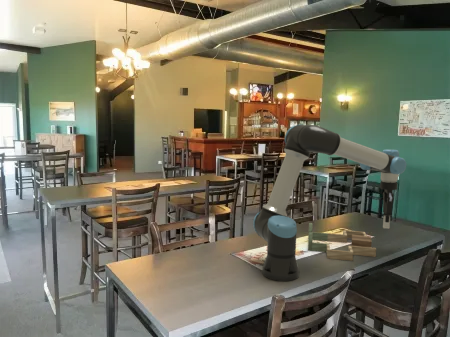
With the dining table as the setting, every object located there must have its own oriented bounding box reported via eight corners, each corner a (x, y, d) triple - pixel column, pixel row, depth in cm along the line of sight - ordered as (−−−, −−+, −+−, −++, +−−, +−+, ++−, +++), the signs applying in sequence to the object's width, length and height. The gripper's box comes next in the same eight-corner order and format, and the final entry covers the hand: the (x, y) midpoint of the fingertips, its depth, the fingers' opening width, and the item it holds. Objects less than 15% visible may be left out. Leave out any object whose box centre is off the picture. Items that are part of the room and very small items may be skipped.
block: (370, 253, 176) (371, 241, 175) (351, 251, 179) (352, 239, 178) (369, 247, 184) (370, 236, 184) (351, 245, 187) (351, 234, 187)
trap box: (378, 263, 163) (380, 244, 162) (307, 256, 170) (308, 238, 169) (366, 239, 198) (367, 223, 197) (308, 234, 205) (309, 218, 204)
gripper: (400, 183, 168) (397, 232, 171) (394, 179, 180) (391, 225, 183) (383, 182, 169) (380, 231, 172) (378, 178, 182) (375, 223, 185)
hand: (386, 227), depth 178 cm, fingers closed
